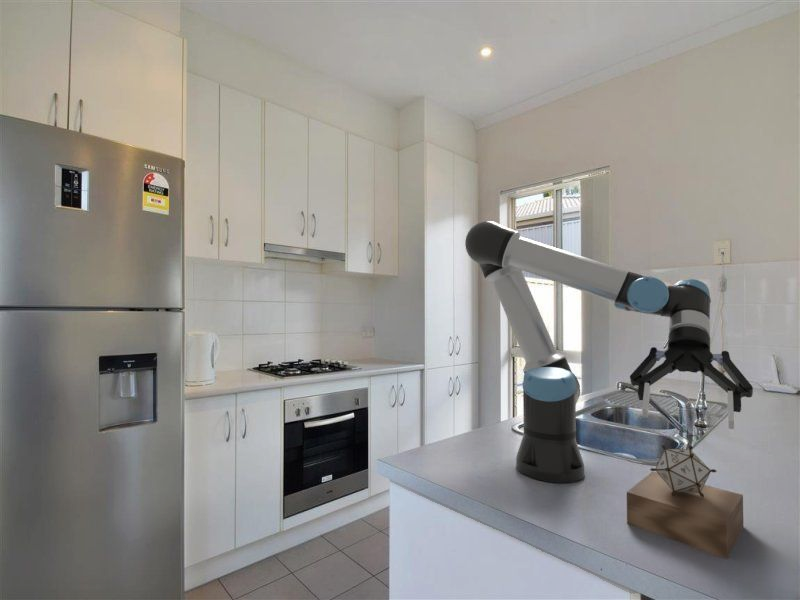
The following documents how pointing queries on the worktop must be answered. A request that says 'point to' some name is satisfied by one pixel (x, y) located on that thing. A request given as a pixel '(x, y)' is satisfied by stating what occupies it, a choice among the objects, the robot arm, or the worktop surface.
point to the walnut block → (687, 514)
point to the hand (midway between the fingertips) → (685, 418)
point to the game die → (682, 470)
